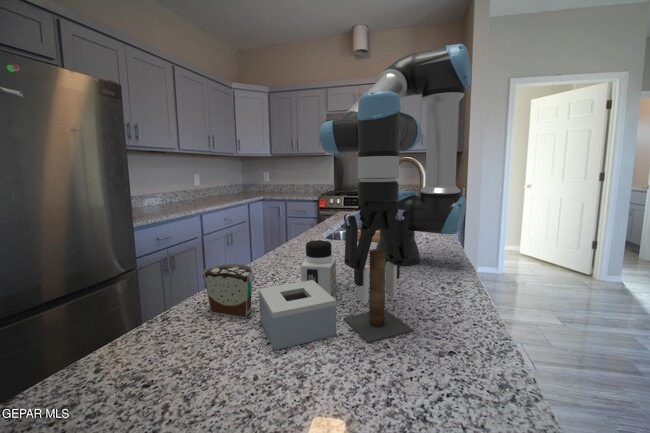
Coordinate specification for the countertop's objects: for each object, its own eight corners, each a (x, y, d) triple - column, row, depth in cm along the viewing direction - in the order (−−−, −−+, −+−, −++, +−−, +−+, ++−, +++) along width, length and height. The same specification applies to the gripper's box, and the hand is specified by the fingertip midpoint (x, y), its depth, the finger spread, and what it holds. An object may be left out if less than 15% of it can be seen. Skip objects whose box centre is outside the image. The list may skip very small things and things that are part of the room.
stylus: (379, 318, 64) (379, 248, 62) (387, 325, 62) (388, 251, 59) (366, 321, 63) (366, 250, 61) (374, 328, 61) (374, 253, 58)
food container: (267, 307, 72) (265, 265, 70) (252, 319, 66) (250, 274, 65) (222, 301, 76) (219, 261, 74) (205, 311, 70) (201, 269, 69)
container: (331, 296, 77) (330, 245, 75) (301, 294, 79) (299, 244, 77) (336, 284, 85) (335, 238, 83) (308, 283, 86) (307, 237, 85)
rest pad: (383, 310, 69) (383, 308, 69) (413, 331, 60) (413, 329, 60) (343, 319, 65) (343, 317, 65) (368, 343, 56) (368, 341, 56)
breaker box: (313, 309, 70) (312, 279, 69) (336, 335, 59) (336, 300, 58) (260, 320, 65) (258, 288, 64) (274, 350, 55) (272, 312, 53)
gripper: (406, 178, 65) (404, 283, 69) (324, 181, 58) (326, 299, 62) (431, 179, 59) (427, 296, 62) (341, 182, 51) (343, 315, 55)
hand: (377, 297), depth 62 cm, fingers open, 6 cm apart
